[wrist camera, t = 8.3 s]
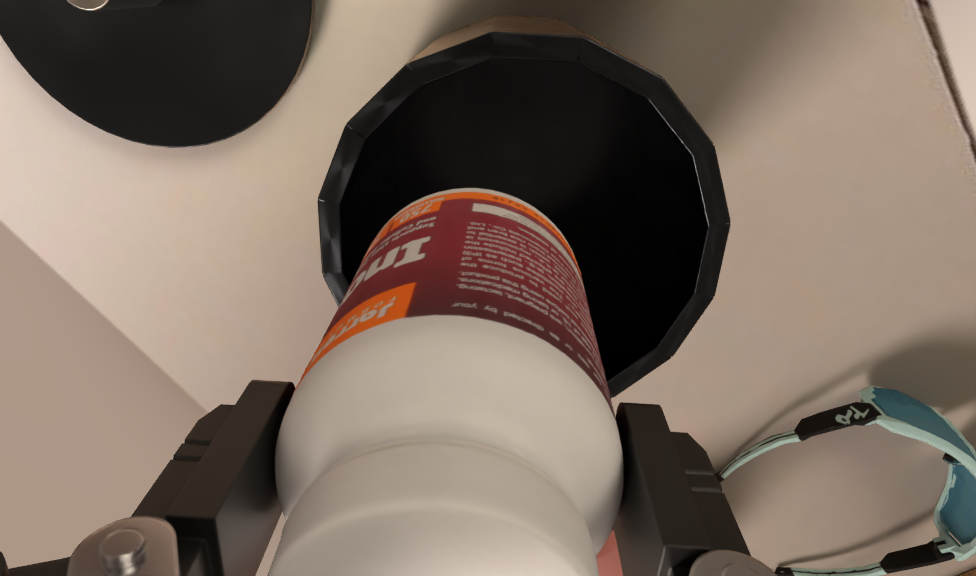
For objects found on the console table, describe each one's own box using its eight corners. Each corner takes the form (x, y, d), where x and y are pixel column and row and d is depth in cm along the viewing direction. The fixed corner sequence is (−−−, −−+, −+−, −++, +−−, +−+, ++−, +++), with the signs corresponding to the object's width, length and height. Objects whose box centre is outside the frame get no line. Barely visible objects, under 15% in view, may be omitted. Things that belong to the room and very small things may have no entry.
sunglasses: (994, 496, 44) (1039, 560, 39) (778, 564, 49) (796, 627, 45) (915, 347, 39) (956, 401, 35) (686, 441, 45) (697, 497, 40)
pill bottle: (411, 142, 17) (281, 370, 7) (619, 238, 18) (766, 557, 8) (332, 332, 19) (152, 702, 9) (520, 407, 20) (536, 815, 10)
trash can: (376, 7, 32) (305, 20, 20) (675, 24, 32) (770, 46, 20) (381, 280, 38) (329, 406, 27) (631, 294, 38) (686, 426, 27)
